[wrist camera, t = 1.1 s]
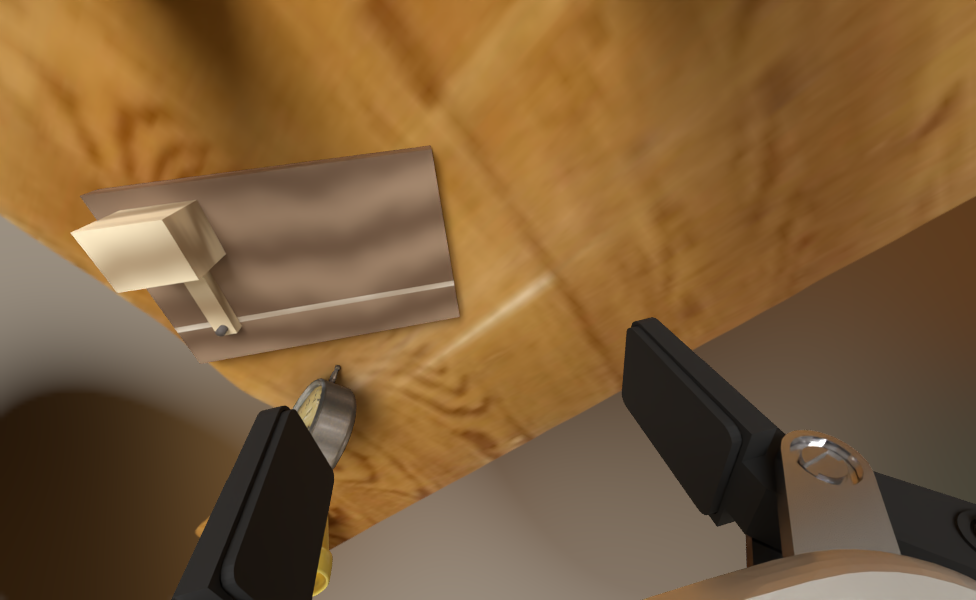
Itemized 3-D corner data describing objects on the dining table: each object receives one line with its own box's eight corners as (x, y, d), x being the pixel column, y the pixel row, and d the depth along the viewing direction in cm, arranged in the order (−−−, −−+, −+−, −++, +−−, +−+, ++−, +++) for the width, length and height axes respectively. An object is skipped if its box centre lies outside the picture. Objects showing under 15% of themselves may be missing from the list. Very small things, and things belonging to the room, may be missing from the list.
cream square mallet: (119, 210, 29) (70, 232, 25) (196, 199, 30) (161, 219, 26) (201, 333, 36) (174, 366, 32) (263, 322, 37) (244, 353, 33)
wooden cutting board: (98, 189, 30) (79, 195, 28) (430, 145, 33) (431, 149, 31) (209, 351, 40) (200, 363, 38) (457, 307, 42) (459, 316, 41)
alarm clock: (331, 353, 43) (293, 481, 29) (371, 371, 45) (353, 497, 32) (286, 408, 46) (233, 547, 32) (325, 422, 48) (292, 556, 35)
